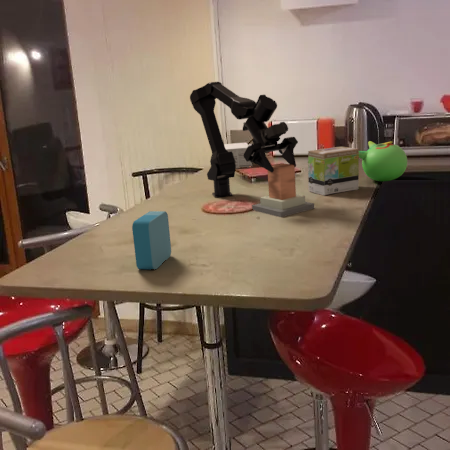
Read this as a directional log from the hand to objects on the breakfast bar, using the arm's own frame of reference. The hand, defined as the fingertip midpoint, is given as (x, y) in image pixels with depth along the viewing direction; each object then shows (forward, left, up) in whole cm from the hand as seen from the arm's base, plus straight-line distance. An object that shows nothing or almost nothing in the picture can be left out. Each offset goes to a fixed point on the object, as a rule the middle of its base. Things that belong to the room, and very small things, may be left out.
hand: (284, 169), depth 186 cm
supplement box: (-92, +4, -13) cm, 93 cm away
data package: (+37, -45, -13) cm, 59 cm away
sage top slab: (-1, -1, -11) cm, 12 cm away
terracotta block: (-1, -1, -9) cm, 9 cm away
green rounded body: (-26, +45, -13) cm, 54 cm away
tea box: (-19, +23, -13) cm, 33 cm away
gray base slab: (-1, -1, -14) cm, 14 cm away
